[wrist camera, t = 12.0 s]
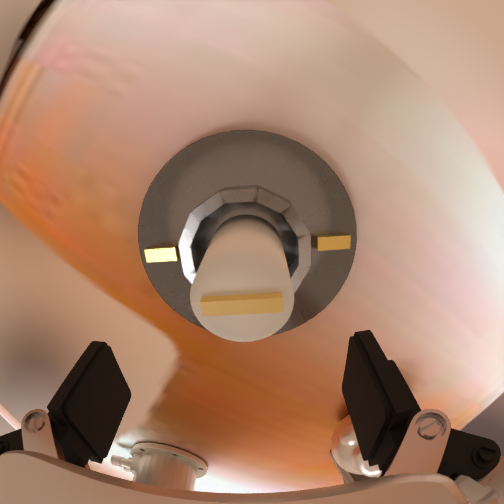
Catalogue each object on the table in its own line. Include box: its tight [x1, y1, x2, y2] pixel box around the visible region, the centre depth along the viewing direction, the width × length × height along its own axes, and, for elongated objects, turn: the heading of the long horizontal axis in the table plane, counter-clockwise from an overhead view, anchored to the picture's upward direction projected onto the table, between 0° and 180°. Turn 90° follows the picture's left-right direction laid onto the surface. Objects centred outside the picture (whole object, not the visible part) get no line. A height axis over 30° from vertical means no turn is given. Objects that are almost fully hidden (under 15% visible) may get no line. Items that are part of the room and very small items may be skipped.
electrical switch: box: [330, 451, 377, 484], centre depth 29 cm, size 9×5×9 cm, turn 24°
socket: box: [138, 130, 357, 335], centre depth 20 cm, size 16×16×2 cm
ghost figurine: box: [331, 414, 382, 477], centre depth 24 cm, size 9×10×10 cm
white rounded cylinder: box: [190, 214, 294, 342], centre depth 16 cm, size 5×5×8 cm
